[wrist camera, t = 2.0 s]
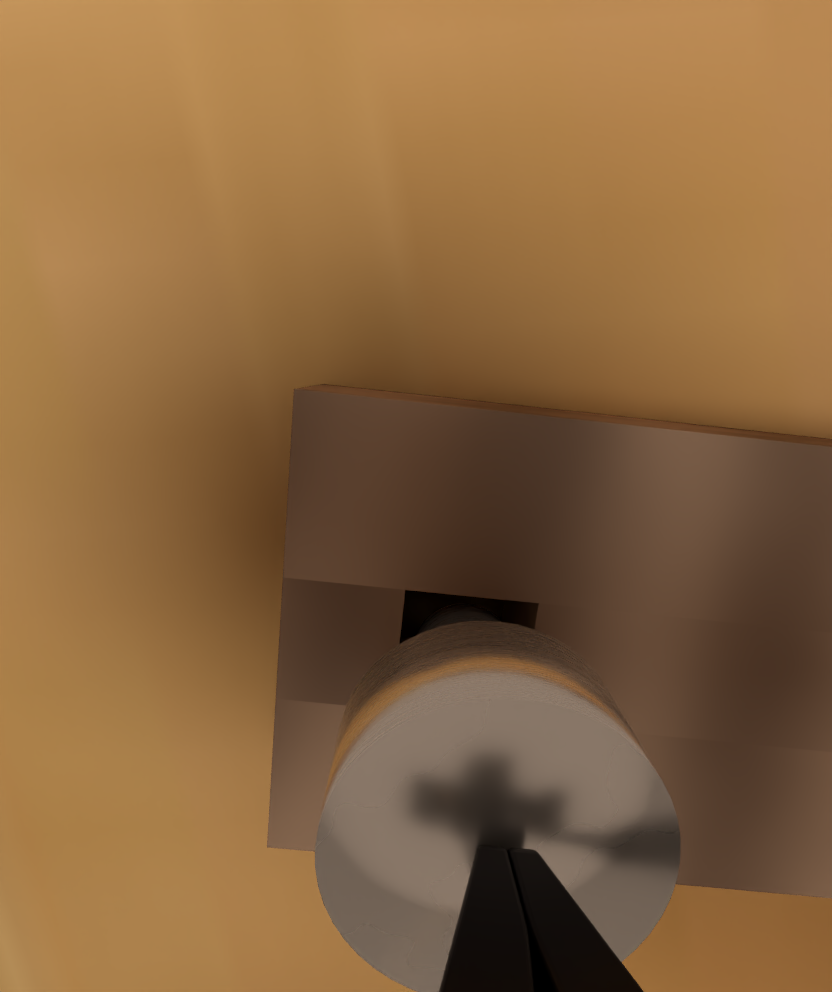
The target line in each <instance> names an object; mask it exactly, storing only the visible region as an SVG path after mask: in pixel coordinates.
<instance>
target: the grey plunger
mask: <svg viewBox="0 0 832 992" xmlns="http://www.w3.org/2000/svg"><path fill="white" fill-rule="evenodd" d="M479 845H490V846H501V847H504V848H505V849H506V850H508V849H510V848H523V849H533V850H535V851H537V852H538V853H539V854H540V855H541V856H542V858H543V859H544V860H545V862H546V863H547V864H548V866H549V867H550V868H551V870H552V871H553V872H554V874H555V875H556V876H557V878H558V879H559V880H560V882H561V883H562V884H563V886H564V887H565V888H566V890H567V891H568V892H569V894H570V895H571V896H572V898H573V899H574V900H575V901H576V903H577V904H578V905H579V907H580V908H581V909H582V911H583V912H584V913H585V915H586V916H587V917H588V919H589V920H590V921H591V923H592V924H593V925H594V927H595V928H596V929H597V931H598V932H599V933H600V935H601V936H602V937H603V939H604V940H605V941H606V943H607V944H608V945H609V947H610V948H611V949H612V951H613V952H614V953H615V954H616V956H617V957H618V958H619V960H620V961H621V962H622V961H623V960H624V959H625V958H626V957H628V956H629V955H630V954H631V953H632V952H633V951H634V950H636V949H637V947H638V946H639V945H640V944H641V943H642V942H643V941H644V940H645V939H646V937H647V936H648V935H649V934H650V933H651V931H652V930H653V928H654V927H655V925H656V924H657V922H658V921H659V920H660V918H661V917H662V915H663V913H664V911H665V909H666V907H667V905H668V903H669V901H670V899H671V896H672V893H673V890H674V887H675V884H676V881H677V876H678V870H679V864H680V849H681V838H680V831H679V825H678V818H677V815H676V812H675V809H674V806H673V802H672V799H671V797H670V795H669V793H668V791H667V789H666V787H665V785H664V783H663V781H662V779H661V778H660V776H659V774H658V773H657V771H656V769H655V768H654V766H653V764H652V763H651V761H650V759H649V758H648V756H647V754H646V752H645V751H644V749H643V747H642V746H641V744H640V742H639V741H638V739H637V737H636V736H635V734H634V732H633V731H632V729H631V727H630V726H629V724H628V722H627V721H626V719H625V717H624V716H623V714H622V712H621V711H620V709H619V707H618V706H617V704H616V702H615V701H614V699H613V697H612V696H611V694H610V692H609V690H608V689H607V687H606V685H605V684H604V683H603V681H602V680H601V678H600V677H599V675H598V674H597V673H596V671H595V670H594V669H593V668H592V667H591V666H590V665H589V664H588V663H587V662H586V661H585V659H584V658H582V657H581V656H580V655H579V654H577V653H576V652H575V651H574V650H572V649H571V648H570V647H568V646H567V645H565V644H564V643H562V642H560V641H559V640H557V639H555V638H554V637H551V636H549V635H547V634H544V633H542V632H540V631H538V630H535V629H531V628H528V627H525V626H521V625H518V624H512V623H505V622H501V621H500V619H499V618H498V617H497V616H496V615H494V614H493V613H492V612H490V611H489V610H487V609H485V608H483V607H480V606H477V605H473V604H453V605H449V606H446V607H443V608H441V609H439V610H437V611H436V612H434V613H433V614H431V615H430V616H429V617H428V618H427V619H426V620H425V621H424V623H423V624H422V626H421V627H420V629H419V631H418V633H417V635H416V636H414V637H412V638H410V639H408V640H406V641H404V642H402V643H401V644H399V645H398V646H396V647H395V648H393V649H392V650H390V651H389V652H388V653H386V654H385V655H384V656H383V657H382V658H380V659H379V660H378V661H377V662H376V663H375V664H374V665H373V666H372V667H371V668H370V669H369V670H368V672H367V673H366V674H365V675H364V676H363V677H362V679H361V680H360V682H359V683H358V685H357V686H356V688H355V689H354V691H353V693H352V695H351V697H350V699H349V701H348V703H347V705H346V707H345V711H344V714H343V717H342V720H341V724H340V728H339V733H338V737H337V742H336V747H335V751H334V756H333V761H332V765H331V770H330V775H329V779H328V784H327V788H326V793H325V798H324V802H323V807H322V812H321V816H320V821H319V826H318V832H317V838H316V844H315V869H316V875H317V882H318V887H319V890H320V893H321V896H322V900H323V903H324V906H325V908H326V910H327V912H328V914H329V916H330V918H331V920H332V922H333V924H334V925H335V926H336V928H337V929H338V931H339V932H340V934H341V935H342V937H343V938H344V940H345V941H346V942H347V943H348V944H349V945H350V946H351V947H352V948H353V949H354V951H355V952H356V953H357V954H358V955H359V956H360V957H362V958H363V959H364V960H365V961H366V962H368V963H369V964H370V965H371V966H372V967H373V968H375V969H376V970H378V971H379V972H381V973H382V974H384V975H385V976H387V977H389V978H390V979H392V980H394V981H396V982H398V983H400V984H402V985H404V986H406V987H408V988H410V989H412V990H415V991H418V992H439V989H440V985H441V981H442V978H443V974H444V970H445V966H446V963H447V959H448V955H449V951H450V947H451V944H452V940H453V936H454V932H455V929H456V925H457V921H458V917H459V913H460V910H461V906H462V902H463V898H464V894H465V891H466V887H467V883H468V879H469V876H470V872H471V868H472V864H473V860H474V857H475V853H476V850H477V847H478V846H479Z"/></svg>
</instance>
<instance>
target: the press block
mask: <svg viewBox="0 0 832 992" xmlns="http://www.w3.org/2000/svg"><path fill="white" fill-rule="evenodd" d="M405 590H412V591H422V592H432V593H442V594H452V595H462V596H472V597H482V598H492V599H501V600H504V605H503V612H502V619H501V622H505V623H512V624H518V625H521V626H525V627H528V628H531V629H535V630H538V631H540V632H542V633H544V634H547V635H549V636H551V637H554V638H555V639H557V640H559V641H560V642H562V643H564V644H565V645H567V646H568V647H570V648H571V649H572V650H574V651H575V652H576V653H577V654H579V655H580V656H581V657H582V658H584V659H585V661H586V662H587V663H588V664H589V665H590V666H591V667H592V668H593V669H594V670H595V671H596V673H597V674H598V675H599V677H600V678H601V680H602V681H603V683H604V684H605V685H606V687H607V689H608V690H609V692H610V694H611V696H612V697H613V699H614V701H615V702H616V704H617V706H618V707H619V709H620V711H621V712H622V714H623V716H624V717H625V719H626V721H627V722H628V724H629V726H630V727H631V729H632V731H633V732H634V734H635V736H636V737H637V739H638V741H639V742H640V744H641V746H642V747H643V749H644V751H645V752H646V754H647V756H648V758H649V759H650V761H651V763H652V764H653V766H654V768H655V769H656V771H657V773H658V774H659V776H660V778H661V779H662V781H663V783H664V785H665V787H666V789H667V791H668V793H669V795H670V797H671V799H672V802H673V806H674V809H675V812H676V815H677V818H678V825H679V831H680V838H681V849H680V864H679V870H678V876H677V881H676V884H680V885H691V886H702V887H713V888H724V889H735V890H746V891H757V892H768V893H779V894H790V895H801V896H812V897H823V898H832V439H825V438H816V437H806V436H797V435H788V434H779V433H769V432H760V431H751V430H742V429H732V428H723V427H714V426H705V425H696V424H686V423H677V422H668V421H659V420H649V419H640V418H631V417H622V416H612V415H603V414H594V413H585V412H575V411H566V410H557V409H548V408H538V407H529V406H520V405H511V404H502V403H492V402H483V401H474V400H465V399H455V398H446V397H437V396H428V395H418V394H409V393H400V392H391V391H381V390H372V389H363V388H354V387H344V386H335V385H326V384H322V385H315V386H309V387H303V388H296V389H294V400H293V417H292V434H291V451H290V467H289V484H288V501H287V518H286V535H285V552H284V569H283V586H282V603H281V620H280V637H279V654H278V671H277V688H276V705H275V722H274V739H273V756H272V773H271V789H270V806H269V823H268V840H267V847H271V848H282V849H293V850H304V851H315V844H316V838H317V832H318V826H319V821H320V816H321V812H322V807H323V802H324V798H325V793H326V788H327V784H328V779H329V775H330V770H331V765H332V761H333V756H334V751H335V747H336V742H337V737H338V733H339V728H340V724H341V720H342V717H343V714H344V711H345V707H346V705H347V703H348V701H349V699H350V697H351V695H352V693H353V691H354V689H355V688H356V686H357V685H358V683H359V682H360V680H361V679H362V677H363V676H364V675H365V674H366V673H367V672H368V670H369V669H370V668H371V667H372V666H373V665H374V664H375V663H376V662H377V661H378V660H379V659H380V658H382V657H383V656H384V655H385V654H386V653H388V652H389V651H390V650H392V649H393V648H395V647H396V646H398V645H399V644H401V643H402V642H404V641H406V640H408V639H410V638H409V637H400V634H401V625H402V615H403V606H404V597H405Z"/></svg>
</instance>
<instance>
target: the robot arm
mask: <svg viewBox="0 0 832 992" xmlns="http://www.w3.org/2000/svg"><path fill="white" fill-rule="evenodd" d="M439 992H643V990H642V989H641V988H640V986H639V985H638V984H637V982H636V981H635V980H634V978H633V977H632V976H631V974H630V973H629V972H628V970H627V969H626V968H625V966H624V965H623V964H622V962H621V961H620V960H619V958H618V957H617V956H616V954H615V953H614V952H613V951H612V949H611V948H610V947H609V945H608V944H607V943H606V941H605V940H604V939H603V937H602V936H601V935H600V933H599V932H598V931H597V929H596V928H595V927H594V925H593V924H592V923H591V921H590V920H589V919H588V917H587V916H586V915H585V913H584V912H583V911H582V909H581V908H580V907H579V905H578V904H577V903H576V901H575V900H574V899H573V898H572V896H571V895H570V894H569V892H568V891H567V890H566V888H565V887H564V886H563V884H562V883H561V882H560V880H559V879H558V878H557V876H556V875H555V874H554V872H553V871H552V870H551V868H550V867H549V866H548V864H547V863H546V862H545V860H544V859H543V858H542V856H541V855H540V854H539V853H538V852H537V851H535V850H533V849H523V848H510V849H508V850H506V849H505V848H504V847H501V846H490V845H479V846H478V847H477V850H476V853H475V857H474V860H473V864H472V868H471V872H470V876H469V879H468V883H467V887H466V891H465V894H464V898H463V902H462V906H461V910H460V913H459V917H458V921H457V925H456V929H455V932H454V936H453V940H452V944H451V947H450V951H449V955H448V959H447V963H446V966H445V970H444V974H443V978H442V981H441V985H440V989H439Z"/></svg>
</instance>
